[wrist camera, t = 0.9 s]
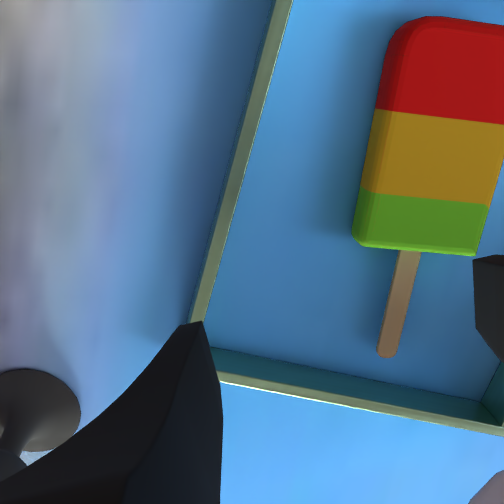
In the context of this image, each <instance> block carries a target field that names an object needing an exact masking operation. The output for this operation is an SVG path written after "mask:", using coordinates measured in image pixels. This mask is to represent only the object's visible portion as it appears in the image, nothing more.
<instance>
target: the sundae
mask: <svg viewBox="0 0 504 504" xmlns="http://www.w3.org/2000/svg"><path fill="white" fill-rule="evenodd" d="M80 416H81V411H80V406H79V403H78V400H77V397H76V396H75V395H74V393H73V392H72V390H71V389H70V388H69V387H68V386H67V385H66V384H65V383H64V382H62V381H60V380H59V379H57V378H56V377H54V376H52V375H49V374H47V373H44V372H40V371H35V370H28V369H24V370H14V371H9V372H5V373H3V374H1V375H0V482H1V481H3V480H4V479H6V478H8V477H10V476H12V475H14V474H15V473H17V472H19V471H20V470H22V469H24V468H25V467H27V465H26V464H25V463H24V462H23V461H22V460H21V459H20V458H19V457H20V455H21V452H22V451H29V452H40V451H47V450H51V449H54V448H56V447H58V446H60V445H61V444H62V443H64V442H65V441H67V440H68V439H69V438H71V436H72V435H73V434H74V433H75V431H76V430H77V429H78V425H79V422H80Z"/></svg>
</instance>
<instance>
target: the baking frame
mask: <svg viewBox="0 0 504 504" xmlns="http://www.w3.org/2000/svg"><path fill="white" fill-rule="evenodd" d="M292 4H293V0H272V2H271V6H270V9H269V13H268V17H267V21H266V24H265V28H264V32H263V36H262V39H261V43H260V47H259V51H258V54H257V58H256V62H255V66H254V69H253V73H252V77H251V81H250V84H249V88H248V92H247V96H246V99H245V103H244V107H243V111H242V114H241V118H240V122H239V126H238V130H237V133H236V137H235V141H234V145H233V148H232V152H231V156H230V160H229V163H228V167H227V171H226V175H225V178H224V182H223V186H222V190H221V193H220V197H219V201H218V205H217V208H216V212H215V216H214V220H213V223H212V227H211V231H210V235H209V238H208V242H207V246H206V250H205V253H204V257H203V261H202V265H201V268H200V272H199V276H198V280H197V284H196V287H195V291H194V295H193V299H192V302H191V306H190V310H189V314H188V317H187V321H186V324H188V323H193V322H197V321H202V322H203V323H204V319H205V315H206V312H207V308H208V305H209V301H210V298H211V294H212V290H213V287H214V283H215V280H216V276H217V272H218V269H219V265H220V262H221V258H222V255H223V251H224V247H225V244H226V240H227V237H228V233H229V230H230V226H231V222H232V219H233V215H234V212H235V208H236V204H237V201H238V197H239V194H240V190H241V187H242V183H243V179H244V176H245V172H246V169H247V165H248V161H249V158H250V154H251V151H252V147H253V144H254V140H255V136H256V133H257V129H258V126H259V122H260V118H261V115H262V111H263V108H264V104H265V101H266V97H267V93H268V90H269V86H270V83H271V79H272V76H273V72H274V68H275V65H276V61H277V58H278V54H279V50H280V47H281V43H282V40H283V36H284V33H285V29H286V25H287V22H288V18H289V15H290V11H291V7H292ZM210 350H211V354H212V358H213V361H214V365H215V368H216V372H217V376H218V379H219V382H222V383H228V384H233V385H238V386H243V387H248V388H253V389H259V390H264V391H269V392H274V393H279V394H284V395H290V396H295V397H300V398H305V399H310V400H316V401H321V402H326V403H331V404H336V405H341V406H347V407H352V408H357V409H362V410H367V411H372V412H378V413H383V414H388V415H393V416H398V417H403V418H409V419H414V420H419V421H424V422H429V423H434V424H440V425H445V426H450V427H455V428H460V429H465V430H471V431H476V432H481V433H486V434H491V435H497V436H502V437H504V363H503V362H502V361H501V363H500V365H499V367H498V369H497V371H496V373H495V375H494V377H493V379H492V381H491V382H490V384H489V386H488V388H487V390H486V392H485V394H484V396H483V398H482V400H481V402H477V401H472V400H467V399H462V398H458V397H453V396H448V395H443V394H438V393H433V392H428V391H423V390H419V389H414V388H409V387H404V386H399V385H394V384H389V383H384V382H380V381H375V380H370V379H365V378H360V377H355V376H350V375H346V374H341V373H336V372H331V371H326V370H321V369H316V368H311V367H307V366H302V365H297V364H292V363H287V362H282V361H277V360H272V359H268V358H263V357H258V356H253V355H248V354H243V353H238V352H233V351H229V350H224V349H219V348H214V347H210Z"/></svg>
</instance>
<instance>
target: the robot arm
mask: <svg viewBox="0 0 504 504" xmlns="http://www.w3.org/2000/svg"><path fill="white" fill-rule="evenodd" d="M473 280H474V302H475V323H476V329H477V330H478V332H479V333H480V335H481V336H482V337H483V339H484V340H485V341H486V343H487V344H488V346H489V347H490V348H491V349H492V351H493V352H494V353H495V354H496V356H497V357H498V358H499V359H500V360H501V361H502V362H503V363H504V255H491V256H487V257H482V258H478V259H474V260H473ZM222 439H223V410H222V399H221V388H220V383H219V379H218V376H217V372H216V368H215V365H214V361H213V358H212V354H211V350H210V347H209V343H208V340H207V336H206V332H205V329H204V325H203V322H202V321H197V322H193V323H188V324H184V325H179V326H178V328H177V329H176V330H175V331H174V333H173V334H172V335H171V336H170V338H169V339H168V340H167V342H166V343H165V344H164V346H163V347H162V348H161V350H160V351H159V352H158V353H157V355H156V356H155V357H154V359H153V360H152V361H151V362H150V364H149V365H148V366H147V367H146V368H145V369H144V371H143V372H142V373H141V374H140V375H139V376H138V377H137V378H136V380H135V381H134V382H133V383H132V384H131V385H130V386H129V387H128V388H127V389H126V391H125V392H124V393H123V394H122V395H121V396H120V397H118V398H117V399H116V400H115V401H114V402H113V403H112V404H111V405H110V406H109V407H108V408H107V409H105V410H104V411H103V412H102V413H101V414H100V415H99V416H98V417H96V418H95V419H94V420H93V421H91V422H90V423H89V424H87V425H86V426H85V427H84V428H82V429H81V430H80V431H78V432H77V433H76V434H74V435H73V436H72V437H71V438H69V439H68V440H67V441H65V442H64V443H62V444H61V445H60V446H58V447H57V448H55V449H54V450H52V451H51V452H49V453H48V454H46V455H45V456H43V457H41V458H40V459H38V460H37V461H35V462H34V463H32V464H30V465H29V466H27V467H25V468H24V469H22V470H20V471H19V472H17V473H15V474H14V475H12V476H10V477H8V478H6V479H4V480H3V481H1V482H0V504H220V486H221V463H222ZM468 504H504V470H502V471H500V472H498V473H496V474H495V475H494V476H493V477H492V478H491V479H490V480H489V481H488V482H487V483H486V484H485V485H484V486H483V487H482V488H481V489H480V490H479V491H478V492H477V493H476V494H475V495H474V496H473V497H472V498H471V499H470V501H469V503H468Z"/></svg>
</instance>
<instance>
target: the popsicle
mask: <svg viewBox="0 0 504 504" xmlns="http://www.w3.org/2000/svg"><path fill="white" fill-rule="evenodd" d="M503 159H504V25H497V24H490V23H483V22H477V21H470V20H463V19H456V18H449V17H442V16H425V17H421V18H418V19H415V20H412V21H409V22H406V23H405V24H404V25H402V26H401V27H400V28H399V29H397V30H396V31H395V33H394V35H393V36H392V38H391V40H390V41H389V44H388V48H387V51H386V54H385V58H384V64H383V69H382V74H381V79H380V84H379V90H378V95H377V100H376V105H375V110H374V115H373V121H372V126H371V131H370V136H369V141H368V147H367V152H366V157H365V162H364V167H363V172H362V178H361V183H360V188H359V193H358V198H357V204H356V209H355V214H354V219H353V224H352V232H351V234H352V236H353V238H354V239H355V240H356V241H357V242H358V243H359V244H360V245H362V246H365V247H374V248H385V249H397V250H399V251H398V255H397V259H396V264H395V268H394V272H393V277H392V281H391V285H390V290H389V294H388V298H387V303H386V307H385V311H384V316H383V320H382V324H381V329H380V333H379V337H378V342H377V346H376V352H377V353H378V355H379V356H380V357H383V358H391V357H393V356H395V354H396V352H397V349H398V345H399V341H400V337H401V333H402V329H403V325H404V321H405V317H406V313H407V309H408V305H409V301H410V297H411V293H412V289H413V285H414V281H415V277H416V273H417V269H418V265H419V261H420V257H421V253H422V252H431V253H442V254H454V255H465V256H476V253H477V249H478V246H479V242H480V239H481V235H482V232H483V229H484V225H485V222H486V218H487V215H488V211H489V208H490V204H491V201H492V197H493V194H494V191H495V187H496V184H497V180H498V177H499V173H500V170H501V166H502V163H503Z"/></svg>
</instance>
